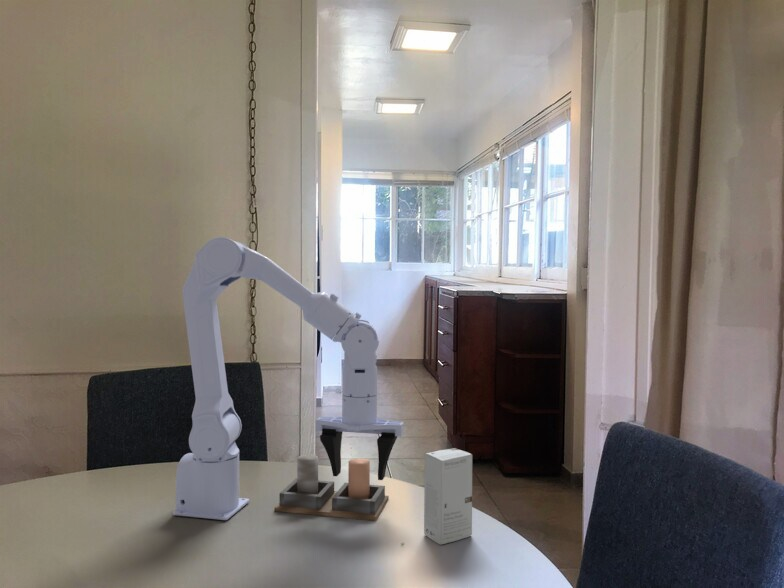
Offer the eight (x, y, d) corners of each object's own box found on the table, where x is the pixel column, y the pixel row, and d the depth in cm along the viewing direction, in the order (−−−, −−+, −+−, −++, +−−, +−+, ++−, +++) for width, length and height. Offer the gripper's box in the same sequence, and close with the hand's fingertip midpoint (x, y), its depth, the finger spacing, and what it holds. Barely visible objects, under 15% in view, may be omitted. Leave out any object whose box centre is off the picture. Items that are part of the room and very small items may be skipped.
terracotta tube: (345, 506, 91) (345, 464, 91) (351, 498, 94) (352, 457, 94) (366, 508, 90) (366, 465, 90) (371, 500, 94) (372, 459, 94)
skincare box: (441, 546, 79) (441, 461, 79) (422, 534, 83) (422, 452, 82) (474, 535, 82) (474, 453, 82) (454, 524, 86) (455, 446, 86)
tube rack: (274, 511, 91) (274, 464, 91) (295, 491, 100) (295, 448, 99) (376, 520, 87) (376, 472, 87) (388, 499, 96) (388, 455, 96)
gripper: (309, 396, 90) (308, 480, 90) (397, 401, 87) (397, 488, 87) (323, 388, 97) (323, 467, 97) (406, 392, 94) (405, 473, 94)
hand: (358, 476), depth 92 cm, fingers open, 7 cm apart
